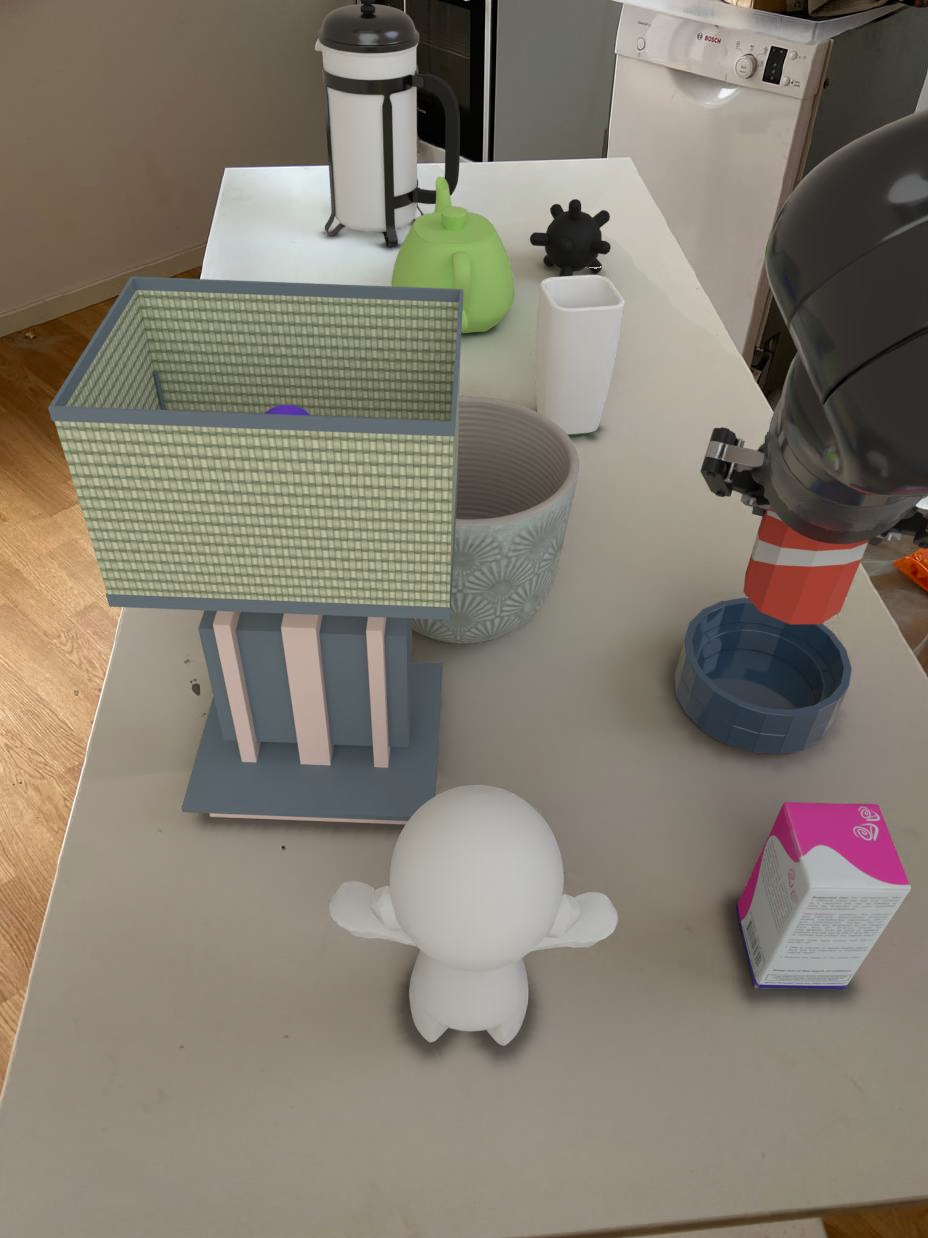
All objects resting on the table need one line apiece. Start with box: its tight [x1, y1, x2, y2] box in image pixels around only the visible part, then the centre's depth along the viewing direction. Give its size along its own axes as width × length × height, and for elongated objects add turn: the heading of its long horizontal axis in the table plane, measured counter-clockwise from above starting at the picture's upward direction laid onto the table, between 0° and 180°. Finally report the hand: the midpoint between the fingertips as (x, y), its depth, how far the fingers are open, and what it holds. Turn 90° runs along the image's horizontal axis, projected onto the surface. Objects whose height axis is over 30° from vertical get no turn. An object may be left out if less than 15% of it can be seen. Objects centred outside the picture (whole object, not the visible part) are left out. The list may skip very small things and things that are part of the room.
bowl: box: [673, 597, 853, 755], centre depth 74 cm, size 12×12×5 cm
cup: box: [534, 274, 626, 437], centre depth 99 cm, size 7×7×15 cm
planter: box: [412, 395, 580, 645], centre depth 78 cm, size 17×17×15 cm
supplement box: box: [735, 801, 912, 990], centre depth 57 cm, size 6×6×12 cm
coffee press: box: [314, 0, 461, 248], centre depth 130 cm, size 17×16×30 cm
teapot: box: [390, 176, 515, 334], centre depth 117 cm, size 22×15×13 cm
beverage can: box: [743, 509, 869, 624], centre depth 59 cm, size 6×6×12 cm
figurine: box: [328, 784, 619, 1047], centre depth 50 cm, size 16×8×20 cm, turn 88°
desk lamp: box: [47, 276, 464, 825], centre depth 60 cm, size 18×14×33 cm
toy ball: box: [529, 198, 611, 277], centre depth 128 cm, size 11×11×12 cm
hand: (817, 513), depth 60 cm, fingers closed on beverage can, 6 cm apart
